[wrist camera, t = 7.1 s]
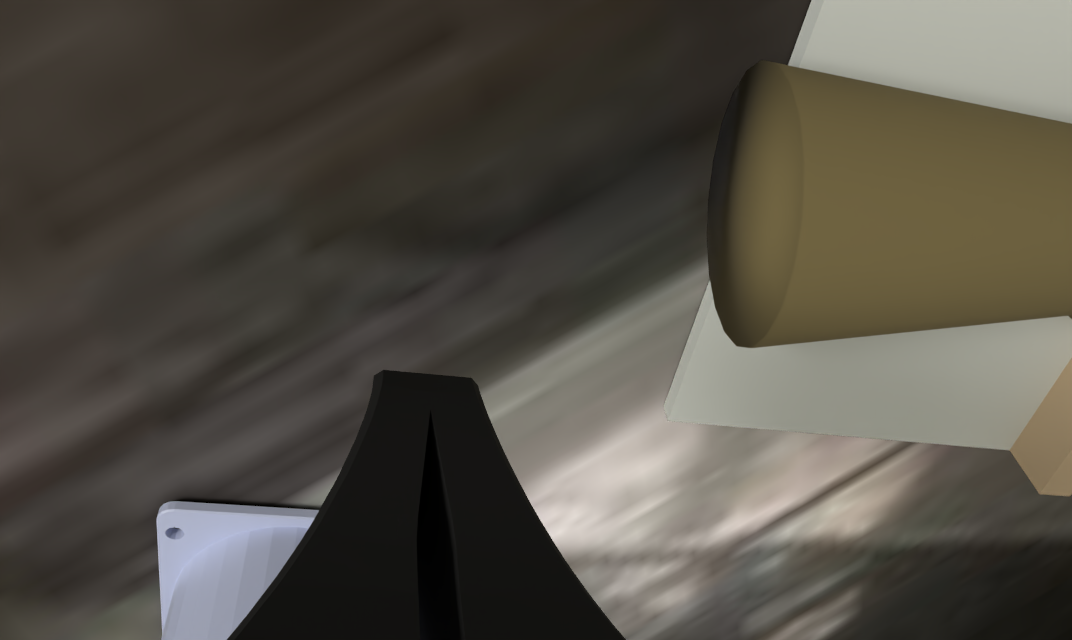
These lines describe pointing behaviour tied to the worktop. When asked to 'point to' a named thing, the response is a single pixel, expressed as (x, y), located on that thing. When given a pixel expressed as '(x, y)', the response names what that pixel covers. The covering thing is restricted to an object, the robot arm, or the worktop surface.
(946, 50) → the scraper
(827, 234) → the cork
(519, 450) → the worktop surface
